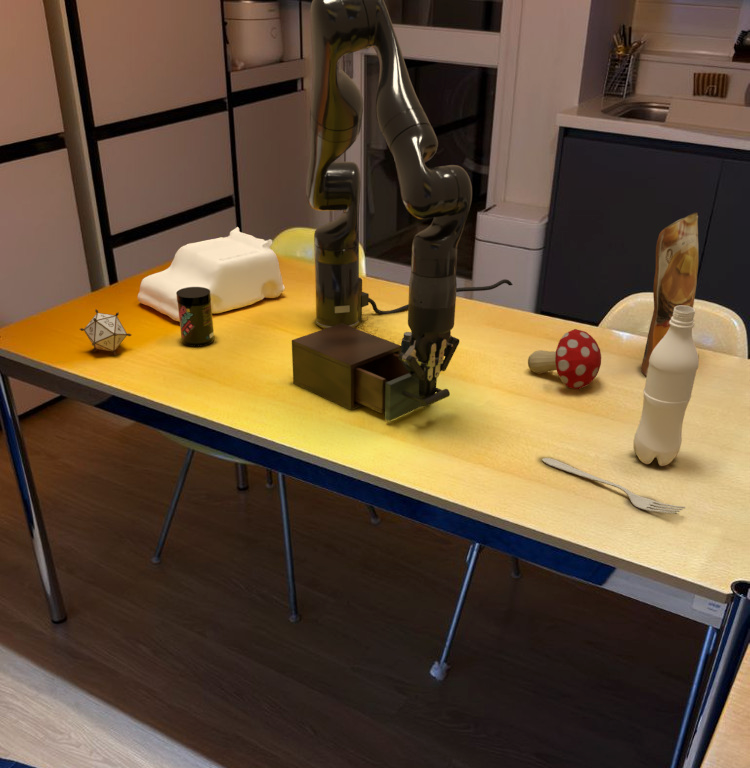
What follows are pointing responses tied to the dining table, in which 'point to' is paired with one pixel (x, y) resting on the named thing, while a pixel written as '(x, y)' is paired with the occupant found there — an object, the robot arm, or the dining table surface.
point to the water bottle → (667, 390)
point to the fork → (635, 499)
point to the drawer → (390, 388)
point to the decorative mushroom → (570, 359)
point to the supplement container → (195, 316)
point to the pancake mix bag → (672, 277)
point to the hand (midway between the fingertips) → (427, 397)
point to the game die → (105, 332)
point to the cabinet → (335, 361)
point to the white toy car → (217, 274)
